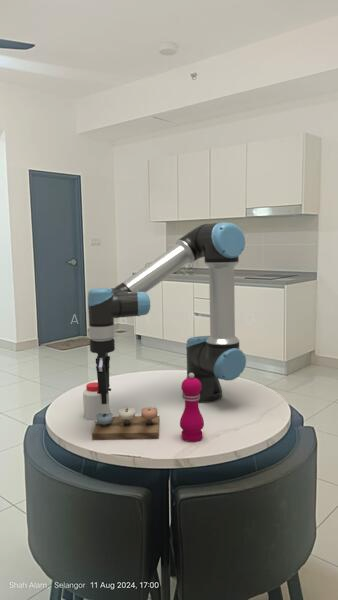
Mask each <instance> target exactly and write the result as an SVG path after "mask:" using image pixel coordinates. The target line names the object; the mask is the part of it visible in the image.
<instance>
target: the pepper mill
mask: <svg viewBox="0 0 338 600" xmlns="http://www.w3.org/2000/svg"><path fill="white" fill-rule="evenodd" d="M188 377H189V378H187V377H186V378H184V380H183V381H182V382H181V391H182V397H183V396H184V397H183V398H182V399H183V400H184V409H183V412H182V414H181V417H180V420H179V427H180V429H182V431H181V439H182V440H183V441H186V442H193V443H194V442H198V441H201V440H202V439H203V431H202V429H203V428H205V427H204V426H205V423H204V417H203V415H202V413H201V411H200V409H199V407H200V406H199V402H198V401H199V399H200V394H199V392H200V391H201V388H202V385H201V382H200V381H199V380H198V379H196V378H194V374H193V373H189V375H188ZM183 392H184V394H183Z"/></svg>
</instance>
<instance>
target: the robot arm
mask: <svg viewBox="0 0 338 600" xmlns="http://www.w3.org/2000/svg"><path fill="white" fill-rule="evenodd" d="M245 245H246V239H245V235H244V232H243V230H242V229H241V228H240V227H239V226H238V225H236V224H235V223H231V222H226V221H225V222H224V221H222V222H215V223H214V222H213V223H204V224H201V225H199V226H196V227H195V228H193V229H192V230H190V231H189V232H187V233H186V234H184V235H183V236H182V237H181V238H179V239H178V240H177V241H175V245H174V246H173V247H171V248H170V249H168V250H167V251H165V252H164V253H163V254H160V255H159V256H158V257H157V258H155V259H154V260H153V261H151V262H149V263H148V264H147V265H146V266H144V267H143V268H141V269H140V270H138V271H136V273H134V274H133V275H131V276H130V277H128V278H127V279H125V280H124V281H122V282H120V284H118V285H116V286H115V287H113V288H109V287H97V288H91V289H89V291H88V293H87V295H88V296H87V308H88V309H87V311H88V322H89V323H88V324H89V325H88V326H89V327H88V328H87V332H89V338H90V340H89V351H90V352H91V353H93V354H97V356H96V358H95V364H96V365H95V369H96V374H97V375H96V377H97V378H96V379H97V382H98V390H99V391H98V392H97V394H100V413H101V414H105V413H111V412H110V410H111V407H110V392H111V391H112V388H111V387H110V386H111V384H110V361H111V356H110V355H109V353H112V352H114V351H115V348H116V347H115V339H114V338H115V321H114V320H115V319H118V318H129V317H141V316H146V315H148V314H149V313H150V311H151V299H150V297H149V294H148V293H147V292H149V291H150V290H152V289H153V288H154V287H156V286H157V285H159V284H160V283H161V282H163V281H164V280H165V279H167V278H168V277H170V276H171V275H172V274H174V273H176V272H177V271H179V269H181V268H182V267H184V266H185V265H186V264H192V263H194V262H195V261H197V260H199V259H202V258H204V264H205V265H206V266H207V267H208V269H209V270H208V271H209V272H208V274H209V275H208V277H209V279H208V280H209V281H208V282H209V331H210V332H209V335H200V336H192V337H189V338H188V339H187V341H186V347H185V348H186V349H185V350H186V378H189V377H188V375H189V373H193V374H194V378H196V379H198V380H199V381H200V382H201V385H202V388H201V391H200V392H199V394H200V399H199V401H198V403H211V402H216V401H219V400H221V399H222V398H223V388H222V386H221V383H220V380H223V381H234V380H235V379H237V378H239V377H240V376H241V375H242V373H243V372H244V371H245V368H246V363H247V358H246V354H245V353H244V352H243V351H242V349H240V339H239V338H238V337H237V336H236V323H235V322H236V321H235V316H236V315H235V313H236V311H235V308H236V307H235V266H237V264H238V263H239V256H240V255H241V254H243V253H242V252H243V251H244V250H245ZM183 394H184V392H183V391H182V397H184V396H183Z"/></svg>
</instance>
